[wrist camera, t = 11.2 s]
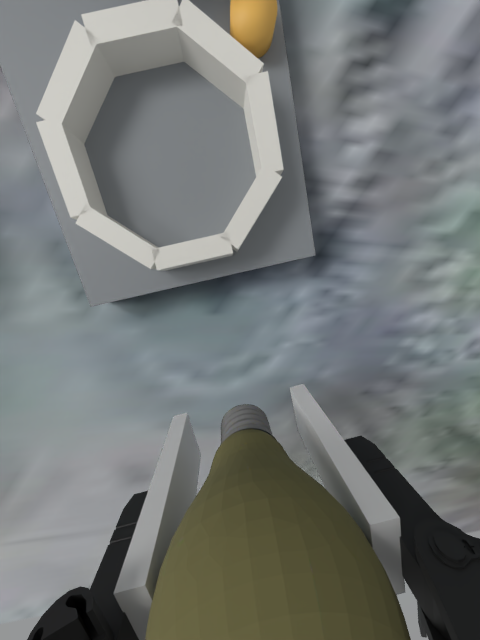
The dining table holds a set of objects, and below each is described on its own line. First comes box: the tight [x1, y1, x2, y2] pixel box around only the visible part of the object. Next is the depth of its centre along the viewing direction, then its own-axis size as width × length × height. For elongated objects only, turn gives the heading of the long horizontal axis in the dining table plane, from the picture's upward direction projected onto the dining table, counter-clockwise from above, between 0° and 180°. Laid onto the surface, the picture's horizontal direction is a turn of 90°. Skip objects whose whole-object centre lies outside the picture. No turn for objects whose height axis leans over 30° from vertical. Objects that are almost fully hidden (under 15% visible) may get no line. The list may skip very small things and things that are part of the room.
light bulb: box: [145, 404, 411, 640], centre depth 7 cm, size 6×6×10 cm
